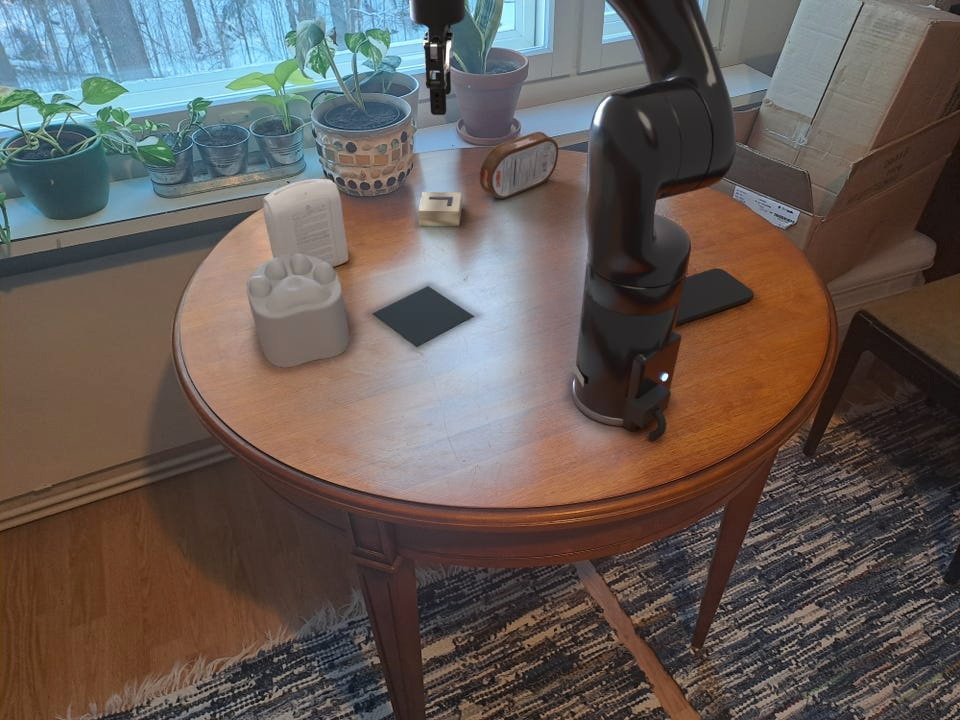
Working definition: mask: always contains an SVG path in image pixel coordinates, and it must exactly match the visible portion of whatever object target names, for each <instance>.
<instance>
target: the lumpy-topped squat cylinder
mask: <svg viewBox="0 0 960 720" xmlns="http://www.w3.org/2000/svg"><path fill="white" fill-rule="evenodd" d="M246 282H247V283H246V294H247V298H248V303H249V306H250V311H251V314H252V318H253V322H254V325H255V329H256V333H257V337H258V340H259V344H260V348H261V350H262V353H263V356H264V357H265V359H266V360H267V362H268V363H269V364H271V365H273V366H275V367H278V368H283V369H285V368H286V369H287V368H293V367H298V366H300V365H304V364H306V363H309V362H313V361H317V360H318V361H319V360H324V359H330V358H334V357H337V356H340V355H341V354H342V353H345V352H346V350H347V349H348V347H349V345H350V343H351V338H350V331H349V325H348V319H347V313H346V308H345V301H344V294H343V288H342V284H341V281H340V278H339V276H338V274H337V272H336V270H335V269H334V267H332V266H331V265H330V264H329V263H326V262H324V261H322V260H320V259H318V258H316V257H313V256H309V255H304V254H296V253H289V254H283V255H279V256H276V257H274V258H273V257H271V258H270V259H268V260H266V261H265V262H262V264H260V265H259V266H257V268H256V269H255V270H254V271H253V272H252V273H251V275H250V277H249V278H248V280H247V281H246Z"/></svg>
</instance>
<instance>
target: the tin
mask: <svg viewBox="0 0 960 720" xmlns="http://www.w3.org/2000/svg"><path fill="white" fill-rule="evenodd" d="M558 159H559V145H558V143H557V142H556V140H555V139H553V138H552V137H551V136H548V135H547V134H546V133H545V132H542V131H535V132H532V133H529V134H526V135H523V136H520V137H517V138H514V139H511V140H508V141H505V142H502V143H499V144H497V145H496V146H495V147H493V148H492V149H490V151H489V152H488V153H487V155H486V156H485V157H484V159H483V162H482V163H481V166H480V170H479V184H480V186H481V187H480V188H482V191H484V192H485V193H487V194H490V195H491V196H493V197H495V198H496V199H507V198H510V197H512V196H515V195H517V194H520V193H523V192H525V191H528V190H530V189H533V188H536V187H538V186H541V185H543V184H544V183H546V181H547V180H549V178H550V177H551V176H552V174H553V173H554V171H555V169H556V167H557V163H558Z"/></svg>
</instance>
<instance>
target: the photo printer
mask: <svg viewBox="0 0 960 720" xmlns="http://www.w3.org/2000/svg"><path fill="white" fill-rule="evenodd" d="M342 206H343V205H342V199H341V194H340V192H339V188H338V186H337V184H336V183H335V182H333V180H331V179H326V178H311V179H305V180H299V181H295V182H292V183H288V184H286V185H284V186H281V187H278V188H277V189H275V190H273V191H272V192H270V193H268V194H266V195H265V196H264V197H263V198H262V208H263V217H264V221H265V226H266V230H267V235H268V240H269V245H270V250H271V254H272V258H274V257H276V256H279V255H283V254H289V253H296V254H304V255H309V256H313V257H316V258H318V259H320V260H322V261H324V262H326V263H329V264H330V265H331V266H332V267H333V268H335V267H337V266H340V265H343V264H346V263H347V262H349V251H348V244H347V236H346V230H345V222H344V215H343V207H342Z"/></svg>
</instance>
